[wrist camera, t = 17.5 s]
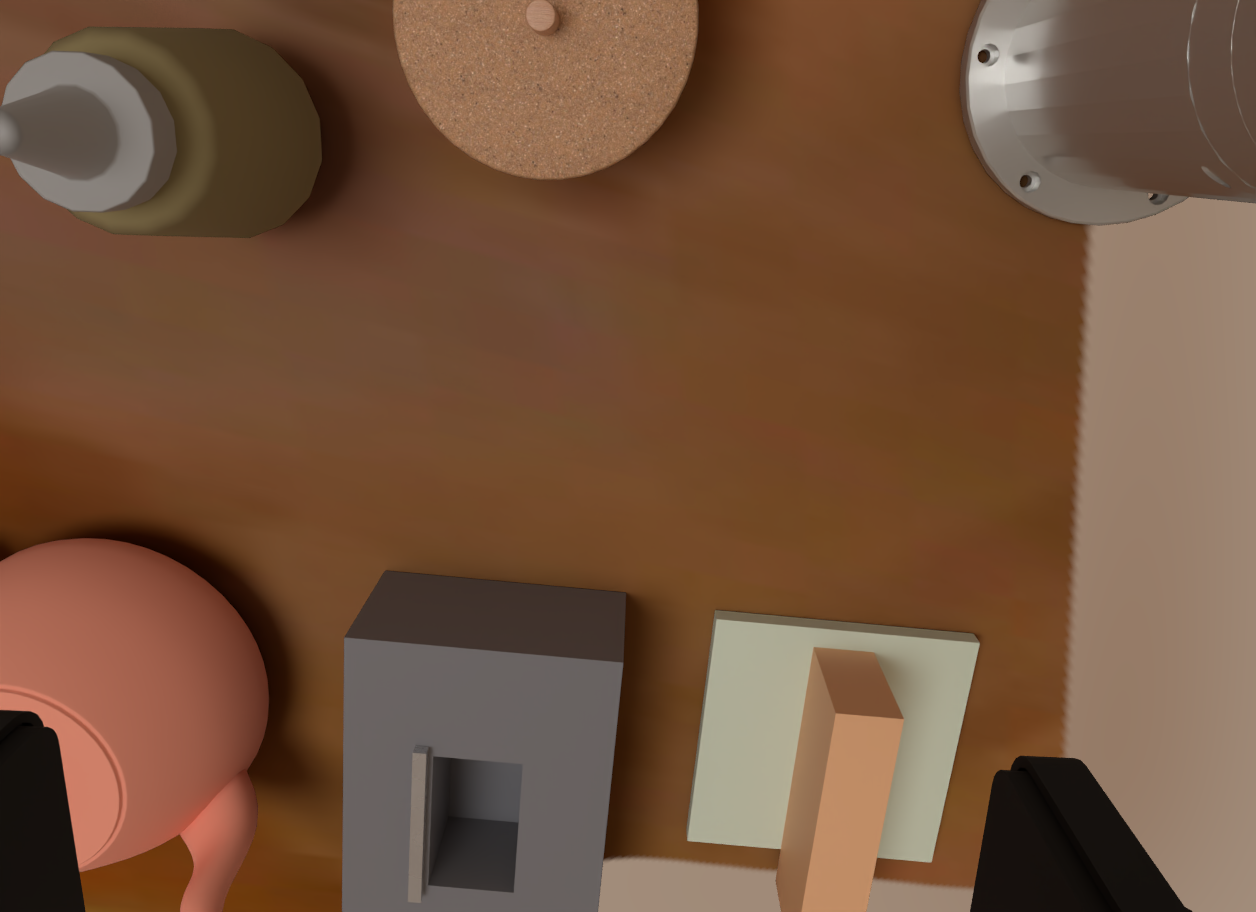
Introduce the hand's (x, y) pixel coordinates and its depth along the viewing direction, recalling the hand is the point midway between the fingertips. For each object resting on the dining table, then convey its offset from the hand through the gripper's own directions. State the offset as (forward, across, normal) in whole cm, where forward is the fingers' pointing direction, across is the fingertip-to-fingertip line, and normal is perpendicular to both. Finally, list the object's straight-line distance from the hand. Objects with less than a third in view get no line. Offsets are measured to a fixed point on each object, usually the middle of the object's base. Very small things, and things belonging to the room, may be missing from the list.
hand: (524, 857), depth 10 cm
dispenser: (+37, +6, +23) cm, 44 cm away
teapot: (+37, +24, +20) cm, 48 cm away
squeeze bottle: (+37, +16, -6) cm, 41 cm away
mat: (+37, -11, +22) cm, 44 cm away
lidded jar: (+37, +3, -11) cm, 39 cm away
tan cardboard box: (+33, -12, +17) cm, 39 cm away
